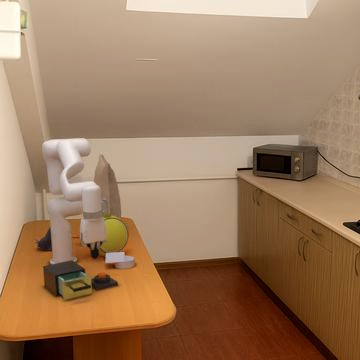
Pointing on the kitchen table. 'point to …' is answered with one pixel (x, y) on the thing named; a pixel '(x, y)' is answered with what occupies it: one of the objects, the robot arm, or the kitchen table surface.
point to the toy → (113, 232)
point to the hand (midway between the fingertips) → (94, 257)
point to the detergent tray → (74, 285)
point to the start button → (102, 275)
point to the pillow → (108, 186)
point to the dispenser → (59, 274)
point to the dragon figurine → (48, 241)
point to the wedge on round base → (120, 260)
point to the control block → (103, 282)
